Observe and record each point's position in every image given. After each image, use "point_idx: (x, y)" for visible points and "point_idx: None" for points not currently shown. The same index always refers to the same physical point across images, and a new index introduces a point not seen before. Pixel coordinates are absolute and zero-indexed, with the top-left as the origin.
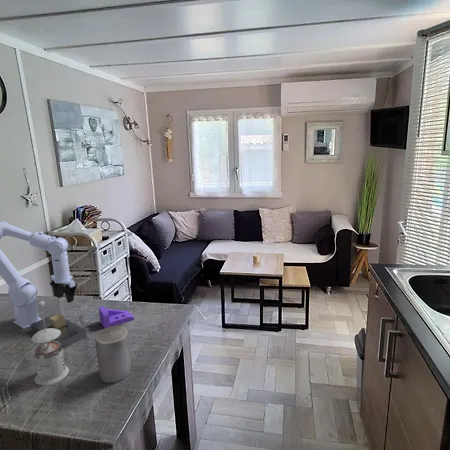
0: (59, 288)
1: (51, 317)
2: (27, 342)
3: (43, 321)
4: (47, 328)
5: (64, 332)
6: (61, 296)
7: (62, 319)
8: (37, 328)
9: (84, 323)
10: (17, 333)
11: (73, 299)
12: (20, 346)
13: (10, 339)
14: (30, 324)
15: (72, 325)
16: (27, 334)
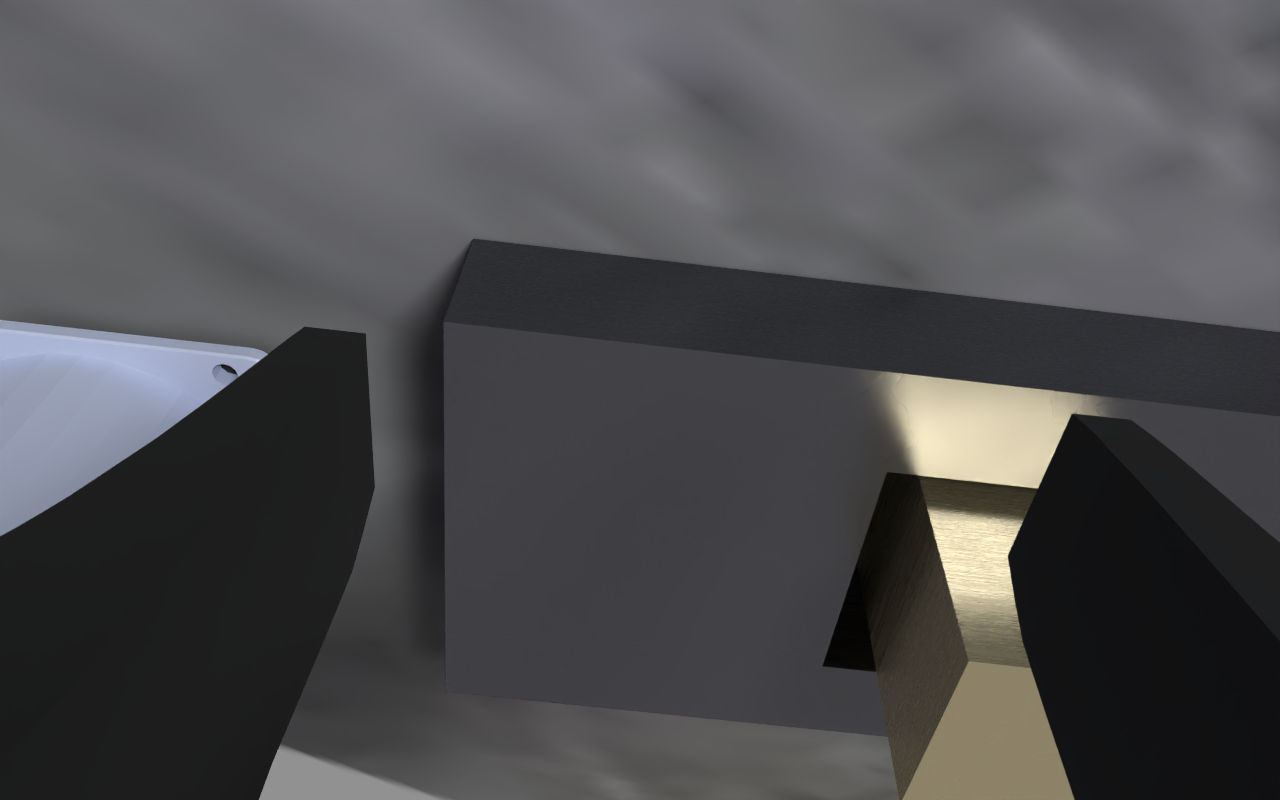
0: (199, 738)
1: (935, 784)
2: (715, 730)
3: (547, 574)
4: (822, 640)
5: None
6: (357, 407)
7: None
8: (691, 713)
9: (1200, 34)
10: (357, 675)
11: (1167, 448)
12: (721, 788)
13: (444, 759)
14: (451, 690)
15: (1263, 465)
16: None
